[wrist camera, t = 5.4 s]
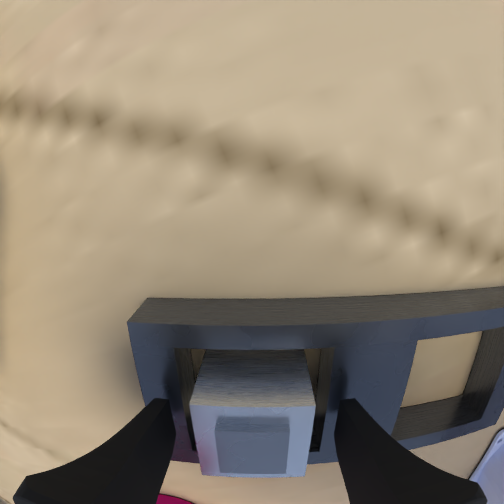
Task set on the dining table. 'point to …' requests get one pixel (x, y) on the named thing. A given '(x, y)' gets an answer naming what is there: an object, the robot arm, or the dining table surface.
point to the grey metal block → (253, 413)
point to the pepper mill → (170, 500)
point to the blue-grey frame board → (331, 357)
